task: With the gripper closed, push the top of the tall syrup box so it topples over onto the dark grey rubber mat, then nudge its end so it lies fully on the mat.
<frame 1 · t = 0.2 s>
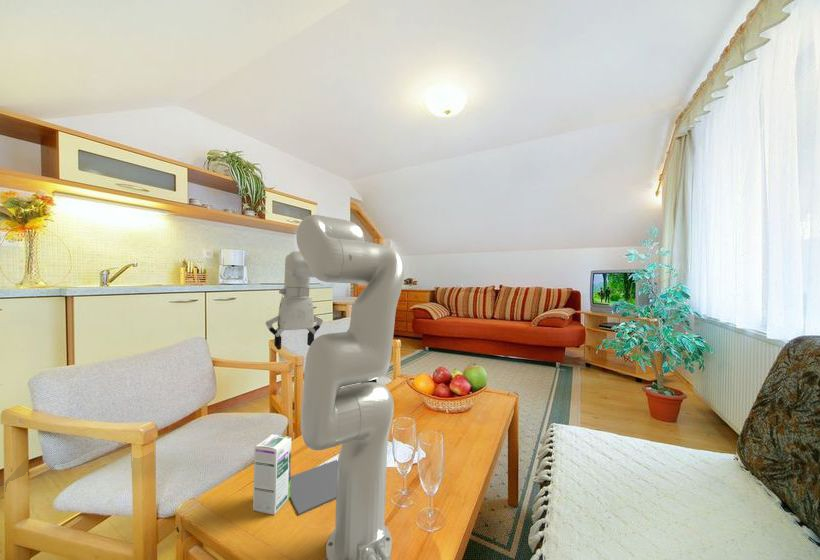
hand: (294, 347, 93), 31 cm above the table, tool pointing down, fingers open, 9 cm apart
syrup box: (271, 505, 68), on the table
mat: (320, 484, 75), on the table
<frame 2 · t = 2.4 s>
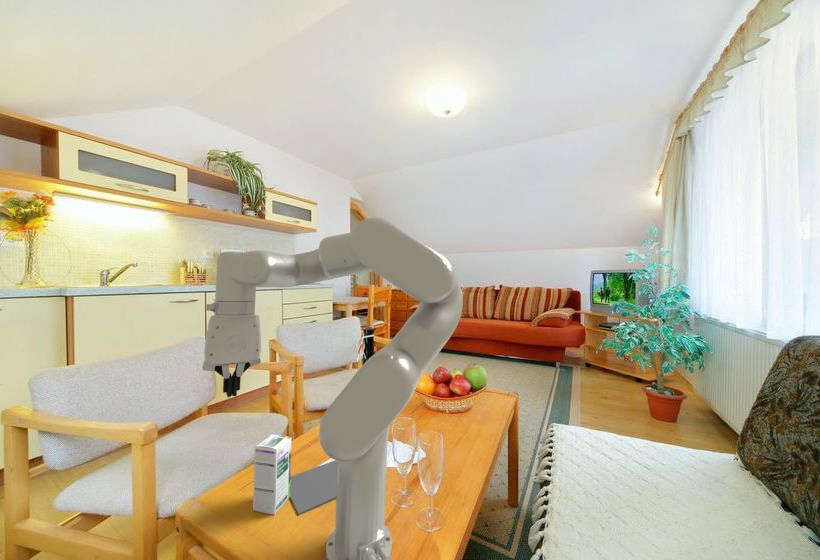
hand: (231, 394, 63), 27 cm above the table, tool pointing down, fingers closed
nothing on the table moved.
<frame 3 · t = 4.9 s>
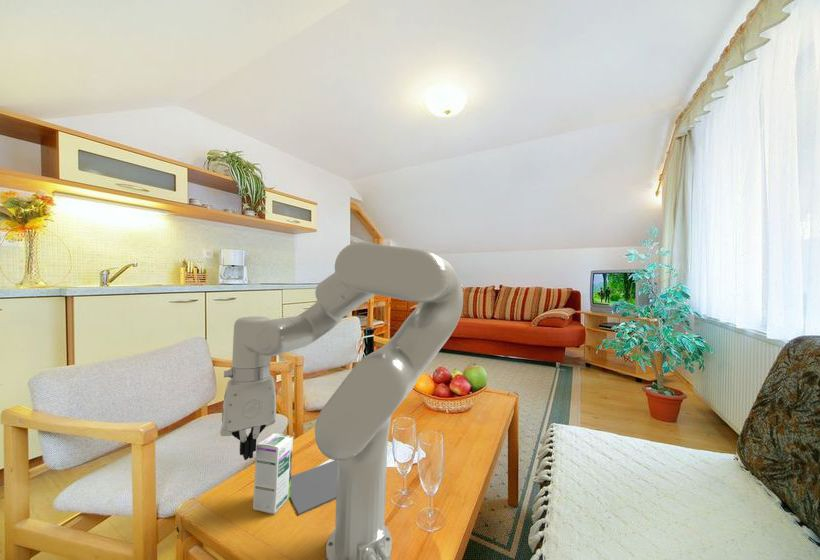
hand: (247, 455, 65), 13 cm above the table, tool pointing down, fingers closed
syrup box: (271, 504, 68), on the table, touching gripper, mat
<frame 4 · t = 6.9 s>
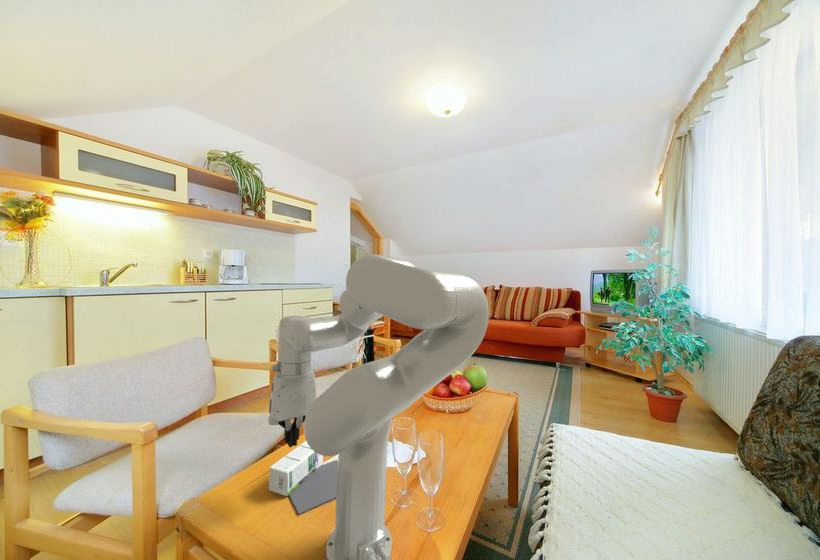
hand: (291, 443, 70), 13 cm above the table, tool pointing down, fingers closed
syrup box: (276, 482, 70), point 3 cm above the table, touching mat
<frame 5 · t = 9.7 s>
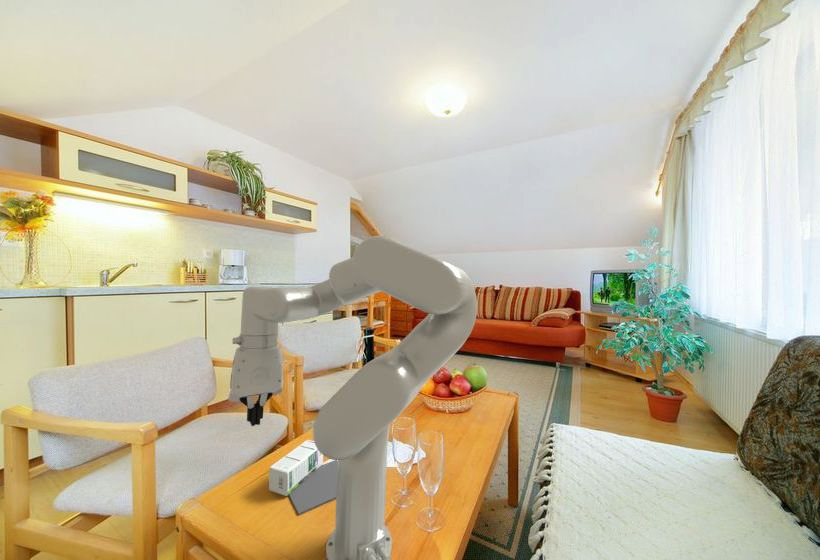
hand: (254, 422, 66), 20 cm above the table, tool pointing down, fingers closed
nothing on the table moved.
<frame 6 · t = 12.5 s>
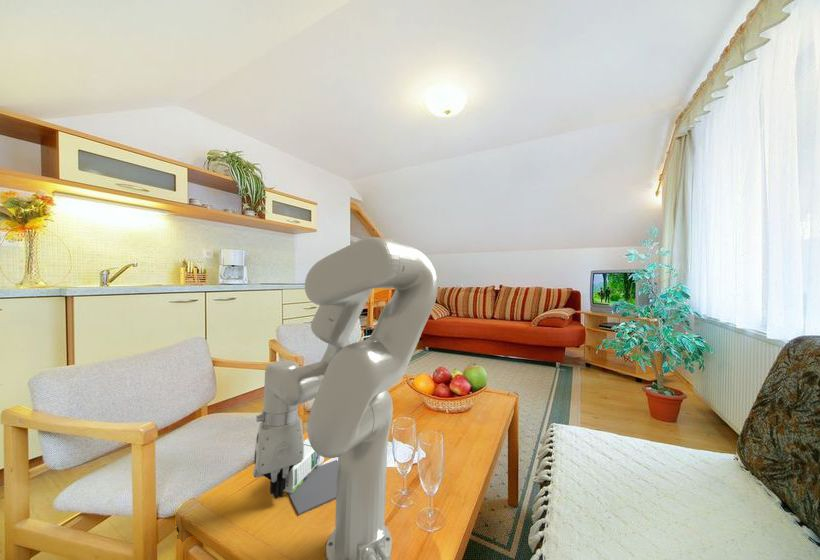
hand: (277, 494, 68), 2 cm above the table, tool pointing down, fingers closed
syrup box: (281, 479, 71), point 3 cm above the table, touching gripper
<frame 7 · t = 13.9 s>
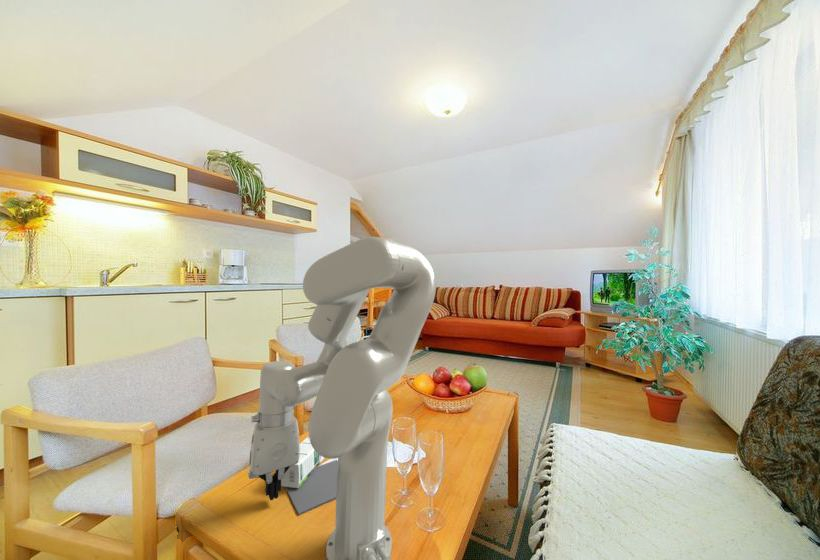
hand: (272, 495, 68), 2 cm above the table, tool pointing down, fingers closed
syrup box: (287, 476, 72), point 4 cm above the table, touching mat
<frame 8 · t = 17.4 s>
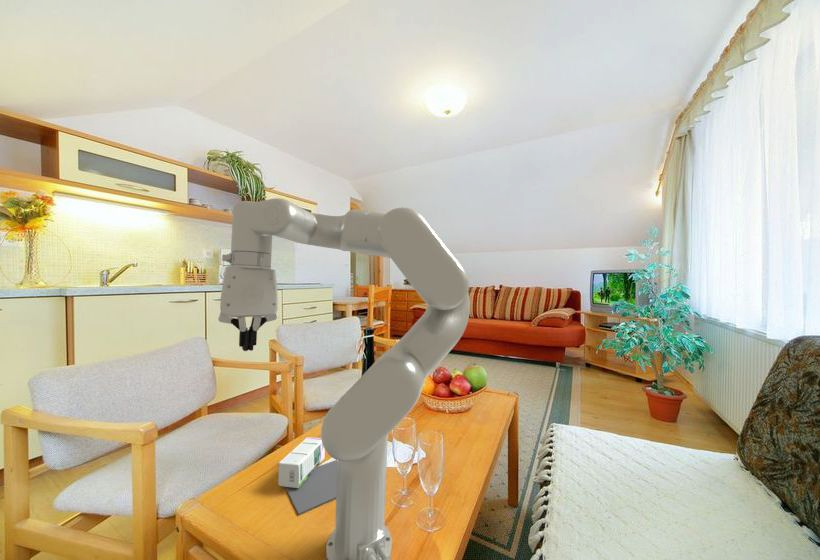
hand: (247, 349, 61), 37 cm above the table, tool pointing down, fingers closed
nothing on the table moved.
at the end: syrup box tilted 92°; syrup box inside the target area (5.6 cm from its centre), point 3.5 cm above the table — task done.
